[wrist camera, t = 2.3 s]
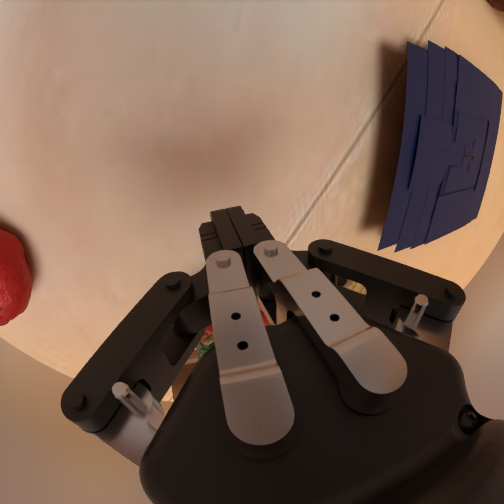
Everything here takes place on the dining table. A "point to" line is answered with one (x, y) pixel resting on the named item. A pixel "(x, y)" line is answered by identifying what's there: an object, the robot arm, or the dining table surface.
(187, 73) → the dining table surface
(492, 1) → the case
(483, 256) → the dining table surface
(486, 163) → the navy folded cloth
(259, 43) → the dining table surface
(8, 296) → the pomegranate
